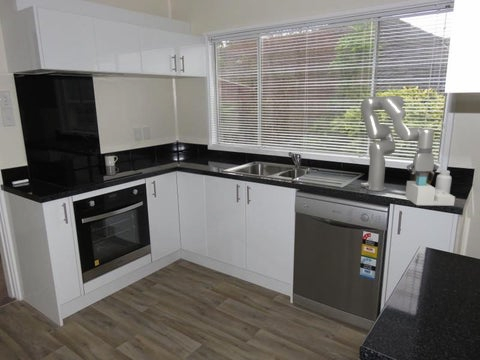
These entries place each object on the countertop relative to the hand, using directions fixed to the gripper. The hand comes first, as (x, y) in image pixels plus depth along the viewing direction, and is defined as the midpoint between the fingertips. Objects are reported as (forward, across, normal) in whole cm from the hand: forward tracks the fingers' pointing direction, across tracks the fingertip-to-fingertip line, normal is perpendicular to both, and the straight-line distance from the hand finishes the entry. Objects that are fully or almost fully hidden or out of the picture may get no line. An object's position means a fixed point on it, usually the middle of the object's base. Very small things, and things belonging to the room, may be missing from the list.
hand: (421, 180), depth 198 cm
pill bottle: (+12, +20, +14) cm, 27 cm away
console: (+12, +6, 0) cm, 13 cm away
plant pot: (+12, +14, +29) cm, 34 cm away
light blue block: (+6, 0, 0) cm, 6 cm away
